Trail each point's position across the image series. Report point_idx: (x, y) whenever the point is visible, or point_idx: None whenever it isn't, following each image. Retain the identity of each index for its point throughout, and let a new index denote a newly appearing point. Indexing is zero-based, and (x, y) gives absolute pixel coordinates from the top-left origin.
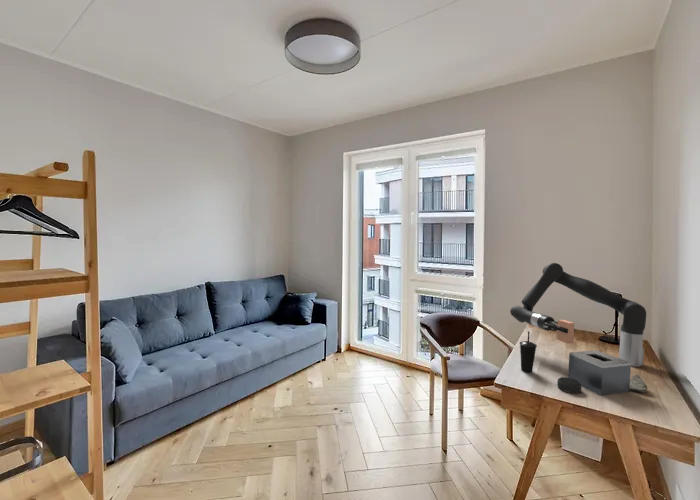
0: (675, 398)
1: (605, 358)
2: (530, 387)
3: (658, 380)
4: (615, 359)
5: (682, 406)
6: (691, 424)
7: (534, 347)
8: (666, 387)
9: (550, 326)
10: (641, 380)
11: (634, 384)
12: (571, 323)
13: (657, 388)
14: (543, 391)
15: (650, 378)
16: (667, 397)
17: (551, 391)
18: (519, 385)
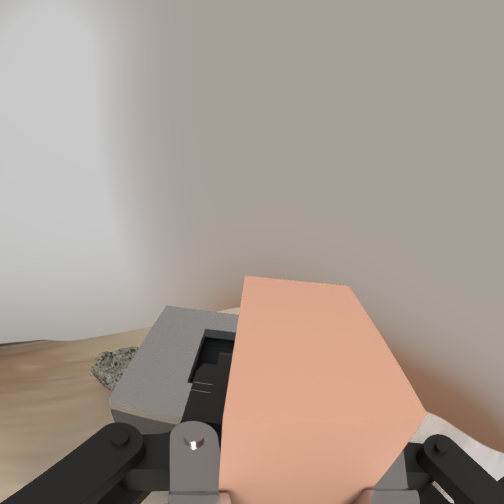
0: (109, 337)
1: (198, 351)
2: (465, 449)
3: (8, 363)
4: (181, 329)
5: (147, 327)
6: (222, 311)
7: (499, 480)
8: (48, 351)
9: (478, 484)
10: (124, 351)
11: None
12: (297, 287)
13: (72, 360)
14: (441, 432)
15: (5, 374)
16: (118, 344)
17: (420, 432)
18: (488, 455)
